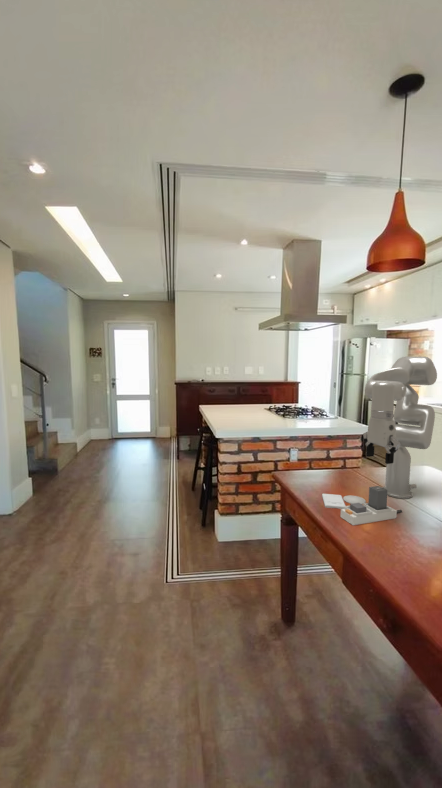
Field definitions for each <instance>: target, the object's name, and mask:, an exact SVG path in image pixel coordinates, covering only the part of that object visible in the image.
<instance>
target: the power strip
mask: <svg viewBox="0 0 442 788" xmlns="http://www.w3.org/2000/svg"><path fill="white" fill-rule="evenodd" d="M400 513H403V510H402V509H394V507H393V508H392V507H391V506H389V505H387V509H383V510H375V509H374V508H372V507H370V506H368V502H366V503H364V504H360V503H354V504H350V503H349V505H345V506H344V509H340V516H339V517H340V518H341V519H343V520H344V521H346V522H347V523H349V524H350V525H352V526H357V525H364V524H369V523H375V522H381V521H386V520H387V521H388V520H393V519H397V514H400Z"/></svg>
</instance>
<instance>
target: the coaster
mask: <svg viewBox="0 0 442 788" xmlns="http://www.w3.org/2000/svg"><path fill="white" fill-rule="evenodd" d="M342 498H343V501H344V503H347V504H349V505H350V504H354V503H360V504H362V505H363V504H364V503H367V501H366V499H365V498H363V497H362V496H358V495H348V494H347V495H345V496H342Z"/></svg>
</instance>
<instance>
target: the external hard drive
mask: <svg viewBox="0 0 442 788" xmlns="http://www.w3.org/2000/svg"><path fill="white" fill-rule="evenodd" d="M321 498H322V501H323V505H324V508H327V509H328V508H329V509H339V510H341V509H344V506H346V502H345V501H344V500H343V496H342V495H341V494H332V493H322V494H321Z"/></svg>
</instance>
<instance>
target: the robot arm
mask: <svg viewBox="0 0 442 788" xmlns="http://www.w3.org/2000/svg"><path fill="white" fill-rule="evenodd" d="M437 379H438V373H437V369H436V366H435V364H434V362H433V360H432V359H431V358H429V357H427V356H402V357H400V358H398V359H396V360H395V362H394V363H393V365H392V367H390V368H389V369H386V370H382V371H380V372H379V371H378V372H377V373H375V374H373V375H372V376H371V377H370V378H369V379H368V381H366V382H367V383H366V384H365V387H364V392H365V393H364V394H365V395H366V397H367V398H368V399H370V400H371V403H370V404H371V407H370V408H371V409H370V418H369V420H368V426H367V431H366V432H364V433H363V434H362V435H363V441H364V443H365V447H366V451H365V452H366V453H365V456H366V457H374V456H375V446H374V445H377V446H380V447H383V448H384V449H385V451H386V452H385V460H384V462H385V464H386V469H385V485H384V486H381V487H382V488H384V489H387V490H388V492H387V497H392V498H395V499H410V498H412V497H413V494H414V493H413V492H412V491H411V490H412V489H417V484H416V483H413V484H410V476H411V462H412V457H411V453H410V452H409V450H408V449H407V448H410V449H411V448H412V449H417V450H418V449H419V450H426V449H429V447H430V446H431V444H432V438H433V431H434V426H435V418H436V414H435V410H434V408H433V407H432V406H430V405H428V404H427V405H426V404H418V402H419V399H420V396H419V394H418V393H417V391H416V390H415V389H414V388H413V387H412V385H413V386H432V385H434V384H435V383H436V381H437ZM394 401H396V403H395V402H394ZM394 404H396V405H394ZM394 406H395V408H394Z"/></svg>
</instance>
